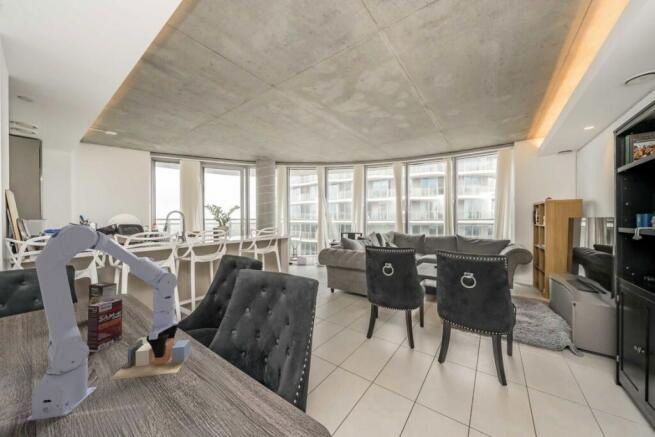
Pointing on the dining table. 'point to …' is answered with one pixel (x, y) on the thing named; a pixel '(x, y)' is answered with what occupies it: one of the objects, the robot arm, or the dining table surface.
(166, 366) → the shelf board
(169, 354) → the terracotta cube
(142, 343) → the flat book
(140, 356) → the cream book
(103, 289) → the coffee box
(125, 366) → the bookend
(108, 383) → the dining table surface
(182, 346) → the blue-grey block
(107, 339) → the supplement box
